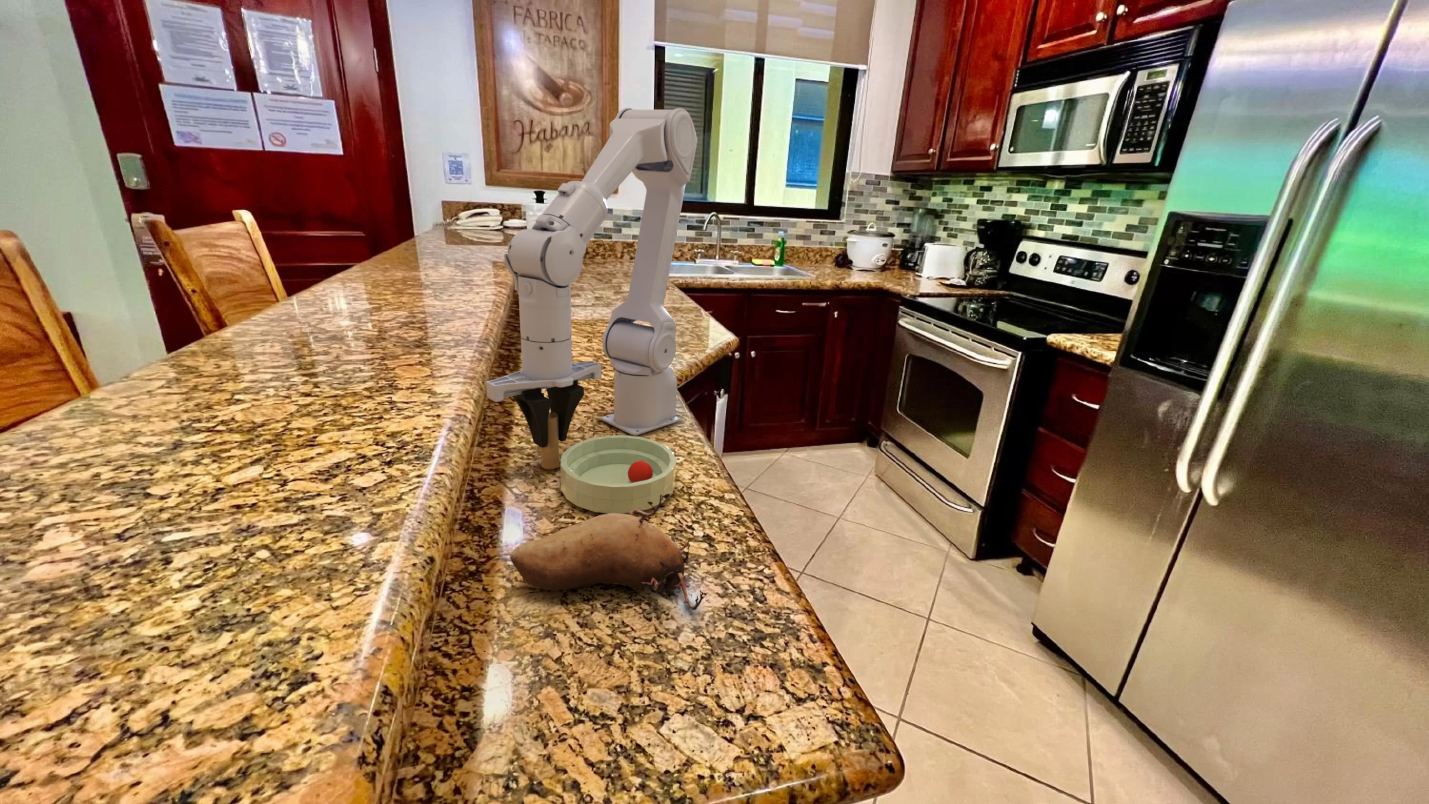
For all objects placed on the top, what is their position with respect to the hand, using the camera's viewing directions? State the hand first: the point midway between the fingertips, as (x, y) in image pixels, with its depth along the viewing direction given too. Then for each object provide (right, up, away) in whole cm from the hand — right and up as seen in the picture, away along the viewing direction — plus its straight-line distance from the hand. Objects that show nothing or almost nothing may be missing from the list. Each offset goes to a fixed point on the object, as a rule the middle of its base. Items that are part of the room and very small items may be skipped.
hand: (549, 441), depth 69 cm
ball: (+12, -4, -3) cm, 13 cm away
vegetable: (+11, -12, -20) cm, 26 cm away
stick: (0, -3, +1) cm, 3 cm away
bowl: (+9, -5, -3) cm, 11 cm away
